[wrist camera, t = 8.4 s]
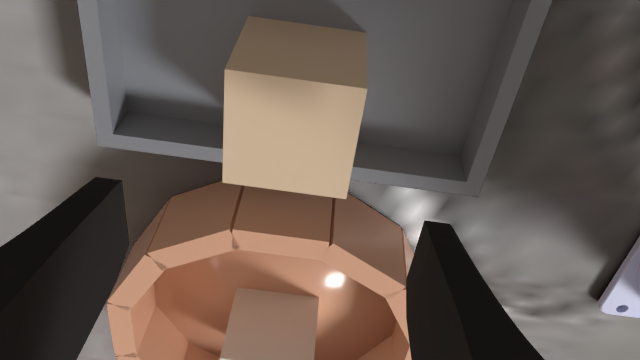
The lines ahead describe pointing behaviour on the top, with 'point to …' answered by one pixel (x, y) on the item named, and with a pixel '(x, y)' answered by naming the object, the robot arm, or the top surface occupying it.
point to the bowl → (262, 273)
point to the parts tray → (382, 78)
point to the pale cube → (270, 326)
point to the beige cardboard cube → (293, 107)
